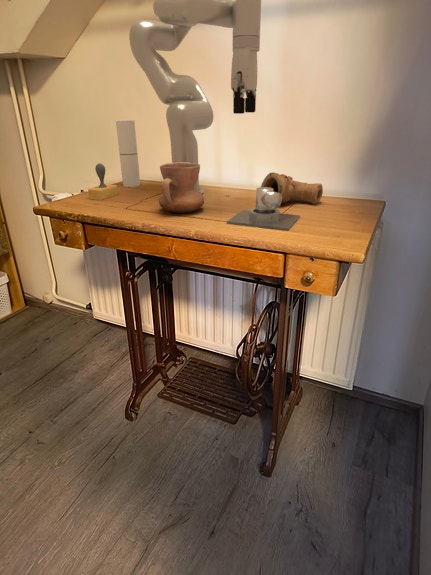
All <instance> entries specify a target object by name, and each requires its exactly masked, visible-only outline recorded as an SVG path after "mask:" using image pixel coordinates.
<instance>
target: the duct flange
mask: <svg viewBox="0 0 431 575" xmlns="http://www.w3.org/2000/svg"><path fill="white" fill-rule="evenodd" d="M300 218H301V215H298V214H292V213H291V214H290V213H289V214H288V213H280V210H279V209H278V208H277V209H273V208H272V213H271V214H259V213H256V207H254V208H250V209H249V210H248V209H242V210H241V211H240V212H238V213H237V214H235V215H234V216H232V217H231V218H229V219H228V220H226V224H227V225H237V226H245V227H252V228H253V227H255V228H261V229H262V228H263V229H270V230H271V229H272V230H279V231H290V229H291V228H292V227H293V226H294V225H295V224H296V223H297V222H298V220H299V219H300Z"/></svg>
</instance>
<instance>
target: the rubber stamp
mask: <svg viewBox="0 0 431 575" xmlns="http://www.w3.org/2000/svg"><path fill="white" fill-rule="evenodd" d="M94 169H95V173H96V175H97V177H98V179H99V182H100V184H99V185H97V186H95V187H94V186H93V187H90V188H88V189H87V191H88V192H87V193H88V197H89V198H88V200H92V199H94V201H104V200H106V199H110V198H112V197H116V196H118V195H119V188H118V185H117V184H110V183H109V184H108V183H105V176H106V167H105V166H104V164H103V163H101V162H100V163H97V164H96V165H95V168H94Z"/></svg>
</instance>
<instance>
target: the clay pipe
mask: <svg viewBox="0 0 431 575" xmlns="http://www.w3.org/2000/svg"><path fill="white" fill-rule="evenodd" d="M260 187H270V188H273V192H277V193H280V194H281V196H282V203H281V204H285V203H287V202H289V201H292V200H294V201H301V202H308V203H310V204H312V205H315V204H318V203H319V202H320V201H321V199H322V197H323V194H324V193H323V192H324V191H323V190H324V189H323V184H322V183H308V182H300V181H298V180H294V179H293V177H292V176H290V175H286V174H283V173H281V174H279V173H277V172H273V171H272V172H269V173H268V174H267V175H266V176H265V177H264V179H263V181H262V182H261V185H260Z"/></svg>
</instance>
